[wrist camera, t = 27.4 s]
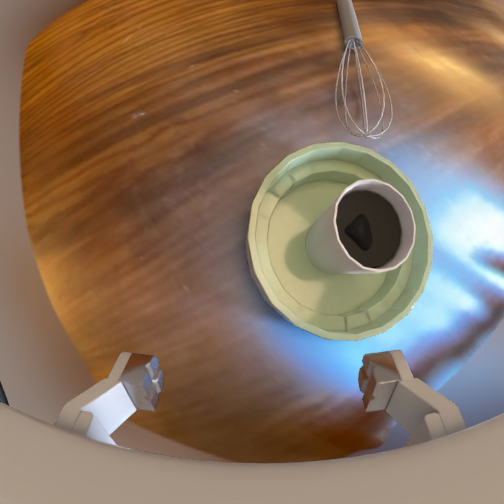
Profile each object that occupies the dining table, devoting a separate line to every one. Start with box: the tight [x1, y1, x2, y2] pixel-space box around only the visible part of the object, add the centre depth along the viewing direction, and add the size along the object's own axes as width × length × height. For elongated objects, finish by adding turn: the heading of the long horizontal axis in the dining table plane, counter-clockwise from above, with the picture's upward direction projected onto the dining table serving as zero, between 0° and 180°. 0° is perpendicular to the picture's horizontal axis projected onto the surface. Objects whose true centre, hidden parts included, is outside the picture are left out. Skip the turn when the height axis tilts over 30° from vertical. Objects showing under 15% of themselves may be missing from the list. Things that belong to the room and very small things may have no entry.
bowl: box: [245, 142, 433, 341], centre depth 27 cm, size 17×17×6 cm
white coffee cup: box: [305, 179, 416, 274], centre depth 24 cm, size 7×7×10 cm
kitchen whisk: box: [335, 0, 392, 140], centre depth 30 cm, size 6×34×6 cm, turn 174°
